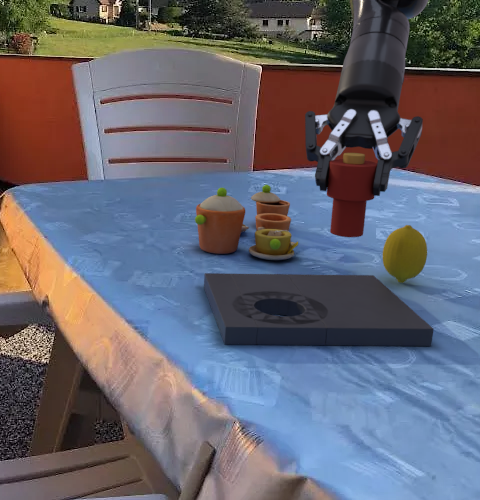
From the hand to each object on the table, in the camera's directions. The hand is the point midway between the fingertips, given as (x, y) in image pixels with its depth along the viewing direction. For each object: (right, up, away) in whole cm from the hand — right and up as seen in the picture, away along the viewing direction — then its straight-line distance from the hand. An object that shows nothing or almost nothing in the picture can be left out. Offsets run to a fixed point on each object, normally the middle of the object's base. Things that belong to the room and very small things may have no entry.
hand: (349, 188), depth 82 cm
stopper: (+1, -5, +3) cm, 6 cm away
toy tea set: (-7, -6, +33) cm, 34 cm away
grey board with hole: (-5, -15, +2) cm, 15 cm away
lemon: (+11, -12, +14) cm, 21 cm away
